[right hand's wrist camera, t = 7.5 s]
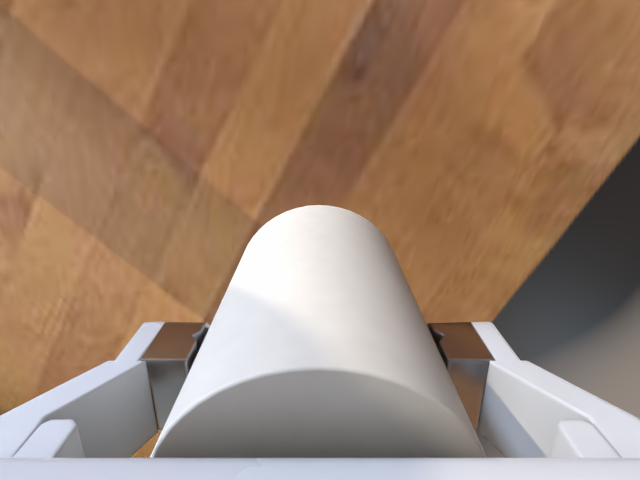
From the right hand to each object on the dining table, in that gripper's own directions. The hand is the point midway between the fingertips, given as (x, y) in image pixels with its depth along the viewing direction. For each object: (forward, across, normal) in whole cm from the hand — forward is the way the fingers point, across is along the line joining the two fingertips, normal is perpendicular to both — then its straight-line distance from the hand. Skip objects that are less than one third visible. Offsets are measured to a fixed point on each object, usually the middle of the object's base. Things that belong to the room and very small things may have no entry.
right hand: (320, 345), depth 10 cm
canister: (+4, 0, 0) cm, 4 cm away
